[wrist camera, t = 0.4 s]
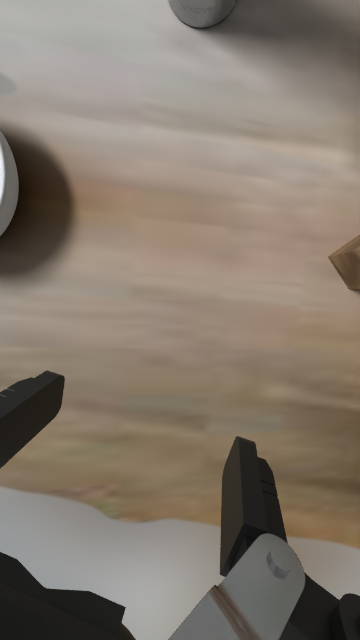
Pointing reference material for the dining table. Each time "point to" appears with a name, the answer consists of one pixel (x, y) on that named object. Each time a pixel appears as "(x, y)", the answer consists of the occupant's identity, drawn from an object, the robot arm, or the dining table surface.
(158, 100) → the dining table surface
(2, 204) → the serving bowl
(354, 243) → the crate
